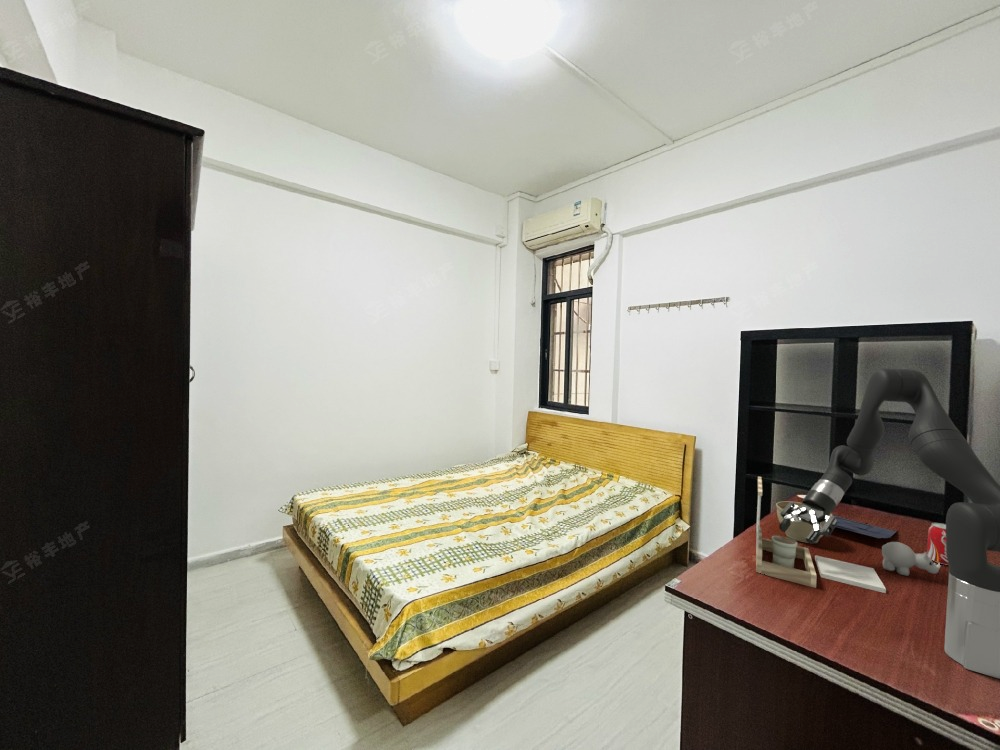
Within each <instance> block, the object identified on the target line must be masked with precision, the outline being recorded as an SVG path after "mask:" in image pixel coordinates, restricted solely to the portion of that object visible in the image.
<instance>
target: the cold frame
mask: <svg viewBox="0 0 1000 750" xmlns="http://www.w3.org/2000/svg"><path fill="white" fill-rule="evenodd" d="M762 497H763V480H762V476H757V507H756V509H757V510H756V544H755V551H756V553H755V556H756V557H755V561H756V562H755V563H756V565H755V567H756V568H755V571H756V572H758V573H757V574H760V573H761V574H760V575H764V574H765V576H769V577H772V578H777V579H779V580H780V579H781V580H785V581H787V582H791V583H795V584H799V585H803V586H806V587H811V588H814V589H816V588H817V575H818V574H817V573H816V569H815V566H814V563H813V559H812V556H811V553H810V549H809V548H808V547H805V546H804V547H803V546H800V545H797V547H796V556H795V559H796V558H797V559H801V560H803V564H804V567H805V570H801V569H797V568H795V567H794V568H790V567H786V566H782V565H778V564H774V563H773V562H769V561H765V560H763V551H765V550H766V552H771V553H772V544H773V542H772V539H768V538H763V537H762V536H763V534H762V533H763V532H762V531H763V530H762V527H760V523H761V521H760V519H761V506H762V505H761V502H762Z"/></svg>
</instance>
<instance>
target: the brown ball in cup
mask: <svg viewBox="0 0 1000 750" xmlns="http://www.w3.org/2000/svg"><path fill="white" fill-rule="evenodd" d="M771 540H772V542H773V544H772V552H771V553H772V563H774V564H778V565H782V566H786V567H790V568H794V569H795V559H796V557H795V556H796V547H797V546H798V541H797V540H794V539H792V538H790V537H788V536H782V535H772V536H771Z"/></svg>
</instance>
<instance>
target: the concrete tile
mask: <svg viewBox="0 0 1000 750" xmlns="http://www.w3.org/2000/svg"><path fill="white" fill-rule="evenodd" d="M814 561H815V564H816V566H817V569H818V572H819V575H820V578H823V579H825V580H826V579H827V580H830V581H833V582H839V583H843V584H845V585H846V584H847V585H850V586H855V587H859V588H862V589H866V590H871V591H875V592H879V593H882V594H886V593H887V589H886V587H885V585H884V583H883V582H882V580H881V579H880V577H879V576H878V574H877V571H875V568H873V567H871V566H870V567H868V566H865V565H861V564H855V563H851V562H846V561H842V560H839V559H833V558H829V557H825V556H821V555H820V556H819V555H814Z"/></svg>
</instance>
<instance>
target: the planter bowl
mask: <svg viewBox="0 0 1000 750" xmlns="http://www.w3.org/2000/svg"><path fill="white" fill-rule="evenodd" d="M790 502H791V501H787V500H785V501H778V502H776V504H775V506H776V515H777V519H778V521H779V523H780V524H781V522H782V521H783V520H784V519H783V517H782V516H781V515H780V513H781V512H782V511H783V509H784V508H785V507H786V506H787V505H788V504H789V503H790ZM792 502H793V503H794V504H795V505H797V506H799V505H801V504H802V502H798V501H792ZM796 511H797V510H796ZM832 515H833V514H832V513H831V514H830V515H829V517H830V516H832ZM796 517H798V515H796ZM790 519H792V518H790ZM825 523H826V521H823V522H821V527H822V528H823V526H824V524H825ZM780 524H779V525H780ZM790 524H791V525H790V526H789V527H788V529H787V530H786V531H785V532H784V533H785V535H786V537H788V538H791V539H793V540H795V541H796V542H800V543H806V544H809V543H808V542H807V540H806V538H807V536H808V535H809V534H810V532H811V531H812V530H814V526H813V525H810V524H809V523H806V522H803V521H800V522H793V523H790ZM822 537H824V535H821V536H819V537H818V539H817V540H816V542H814V543H813V544H817V543H819V541H820V539H821V538H822Z"/></svg>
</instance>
